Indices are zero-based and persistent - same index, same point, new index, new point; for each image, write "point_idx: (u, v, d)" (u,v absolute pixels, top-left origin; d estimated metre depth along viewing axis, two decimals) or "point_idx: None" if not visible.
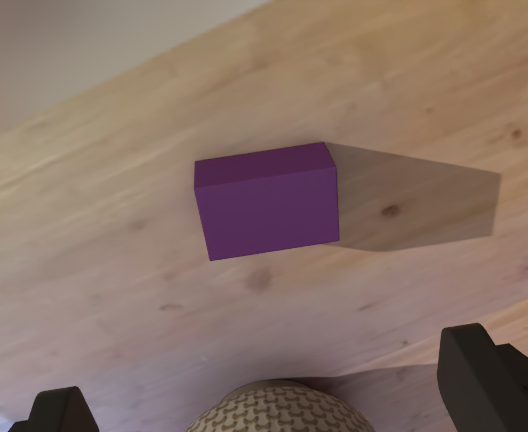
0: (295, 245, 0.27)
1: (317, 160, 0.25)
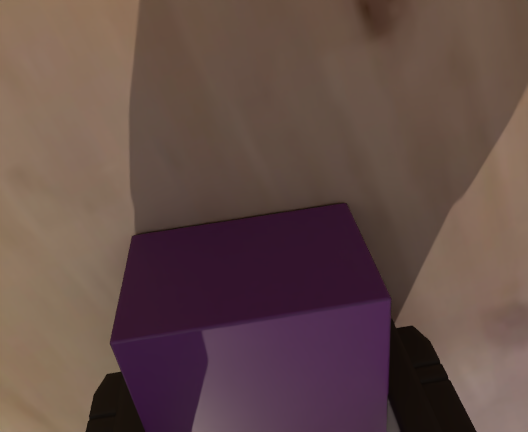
0: (381, 396, 0.09)
1: None
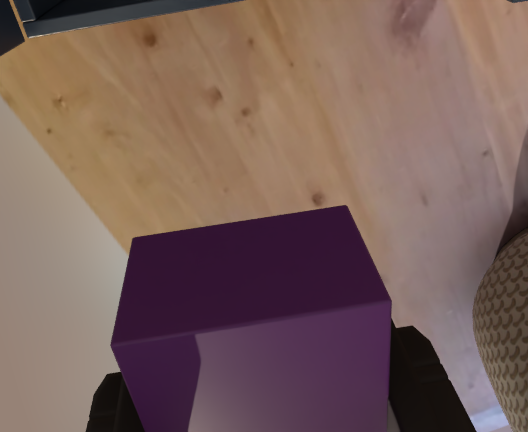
0: (381, 398, 0.09)
1: None
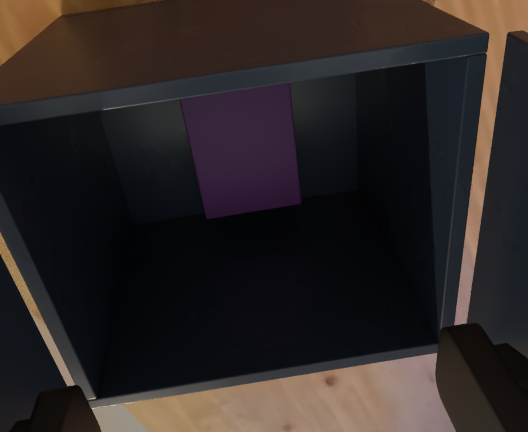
0: (289, 111, 0.21)
1: None
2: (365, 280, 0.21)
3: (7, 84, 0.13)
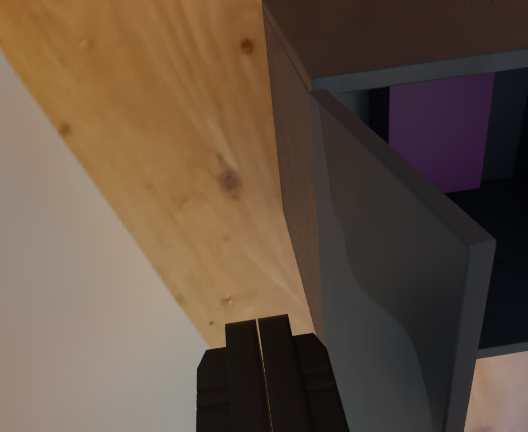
0: (489, 94, 0.21)
1: None
2: None
3: (333, 53, 0.13)
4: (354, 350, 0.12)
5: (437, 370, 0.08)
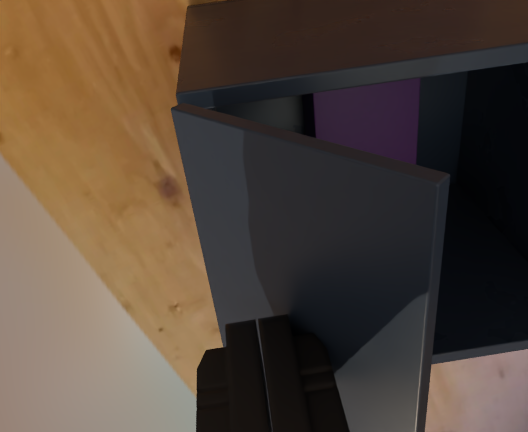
0: (416, 101, 0.21)
1: None
2: (492, 270, 0.21)
3: (213, 66, 0.13)
4: None
5: (409, 309, 0.09)
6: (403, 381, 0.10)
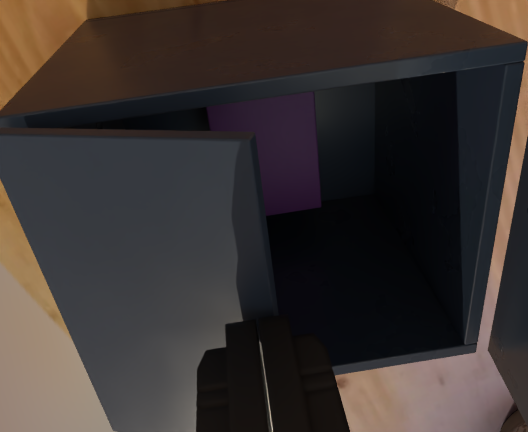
0: (312, 115, 0.21)
1: None
2: (387, 283, 0.21)
3: (51, 88, 0.13)
4: (142, 334, 0.14)
5: (250, 250, 0.11)
6: (258, 317, 0.12)
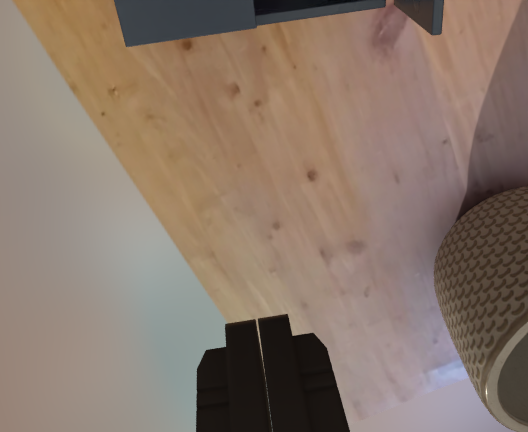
0: None
1: None
2: None
3: None
4: None
5: None
6: None
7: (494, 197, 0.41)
